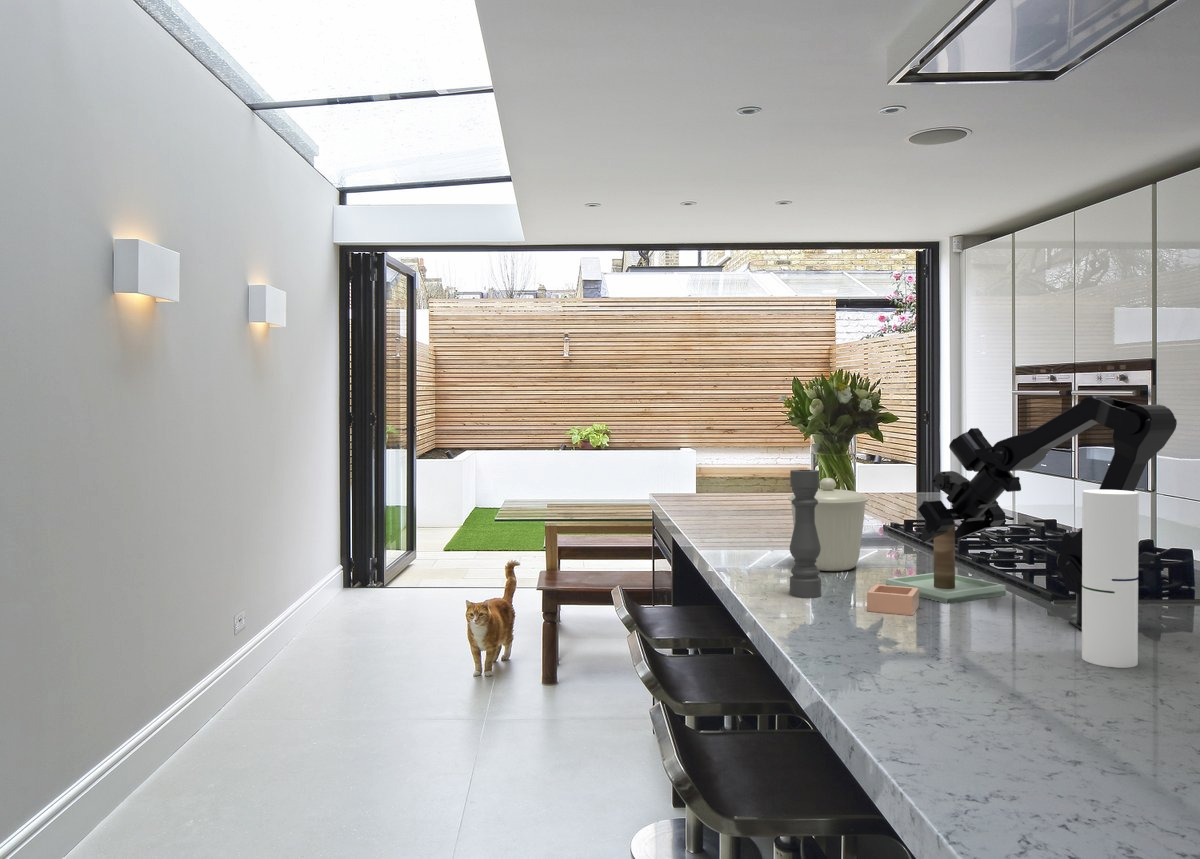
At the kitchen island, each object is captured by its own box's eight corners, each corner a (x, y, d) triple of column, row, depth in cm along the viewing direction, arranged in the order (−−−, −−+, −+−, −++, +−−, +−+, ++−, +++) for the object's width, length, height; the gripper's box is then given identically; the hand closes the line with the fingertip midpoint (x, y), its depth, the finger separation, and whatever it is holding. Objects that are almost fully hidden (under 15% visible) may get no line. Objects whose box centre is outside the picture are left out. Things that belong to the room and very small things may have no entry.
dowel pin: (950, 589, 175) (950, 514, 175) (930, 587, 178) (930, 513, 178) (958, 586, 178) (958, 512, 178) (938, 584, 181) (938, 511, 180)
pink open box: (918, 606, 166) (918, 587, 166) (912, 615, 159) (912, 596, 158) (875, 602, 169) (875, 584, 169) (867, 611, 162) (866, 592, 162)
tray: (1005, 595, 174) (1005, 585, 174) (947, 603, 167) (947, 593, 167) (941, 581, 189) (941, 571, 189) (885, 588, 182) (885, 579, 182)
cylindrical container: (1145, 668, 126) (1146, 494, 125) (1091, 666, 127) (1092, 494, 126) (1126, 654, 133) (1127, 489, 132) (1075, 652, 134) (1075, 489, 133)
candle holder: (818, 591, 180) (818, 469, 179) (823, 598, 173) (822, 471, 173) (788, 591, 180) (787, 469, 180) (791, 597, 174) (790, 471, 173)
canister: (773, 565, 210) (772, 476, 209) (833, 558, 217) (832, 473, 217) (822, 578, 193) (822, 482, 193) (885, 570, 201) (885, 478, 201)
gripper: (993, 456, 178) (949, 505, 188) (925, 460, 170) (883, 511, 180) (1027, 498, 171) (980, 547, 181) (958, 504, 163) (913, 555, 173)
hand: (938, 539), depth 179 cm, fingers open, 9 cm apart
